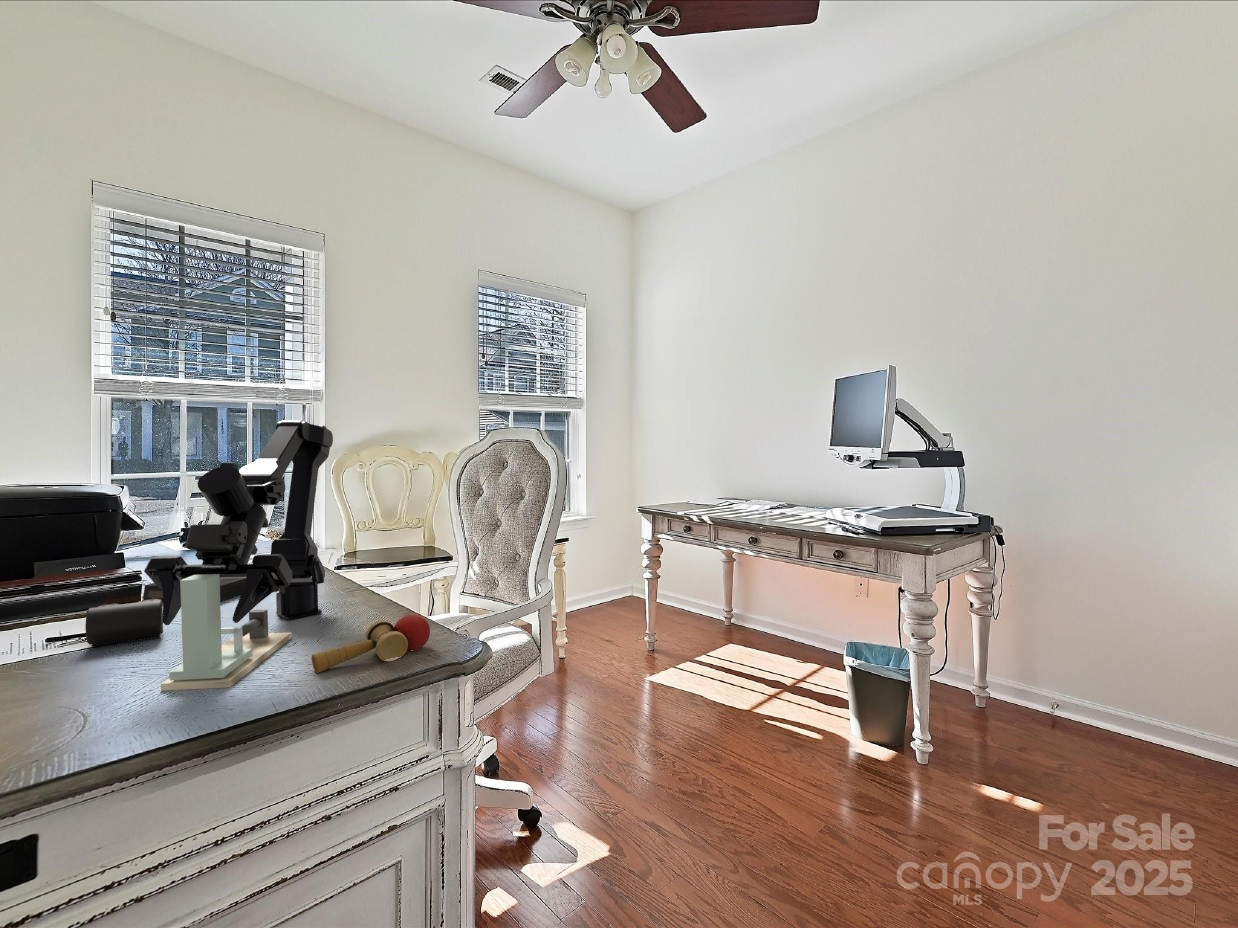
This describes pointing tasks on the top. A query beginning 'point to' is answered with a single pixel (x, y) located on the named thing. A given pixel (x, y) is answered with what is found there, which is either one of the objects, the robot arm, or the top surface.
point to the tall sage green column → (206, 632)
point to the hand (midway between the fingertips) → (200, 622)
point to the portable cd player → (227, 589)
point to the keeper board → (255, 640)
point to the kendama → (379, 642)
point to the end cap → (124, 622)
